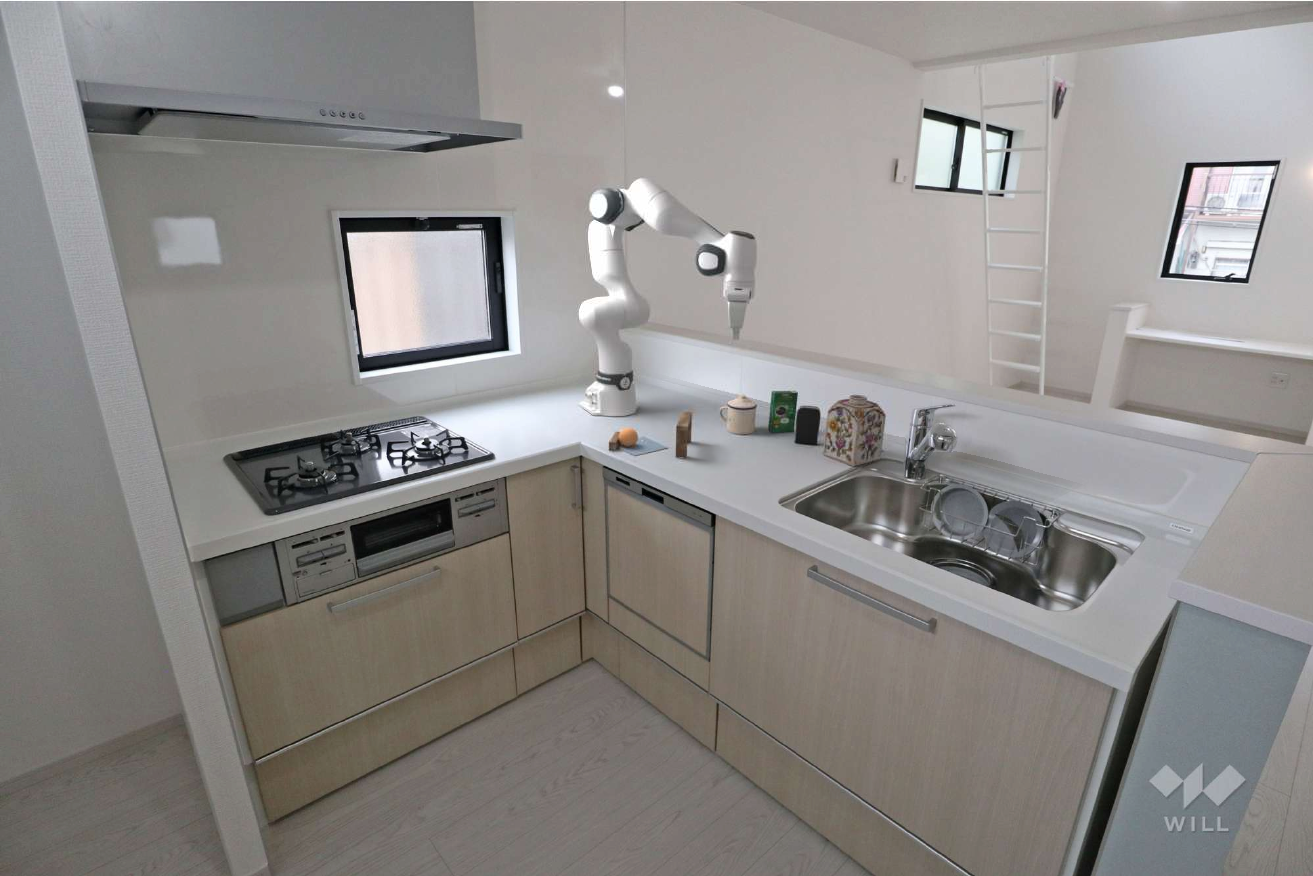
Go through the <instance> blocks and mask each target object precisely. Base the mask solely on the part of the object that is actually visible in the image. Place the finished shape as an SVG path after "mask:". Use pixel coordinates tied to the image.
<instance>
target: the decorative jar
mask: <svg viewBox="0 0 1313 876" xmlns="http://www.w3.org/2000/svg"><path fill="white" fill-rule="evenodd" d="M848 397H849V398H845V399H838V400H837V401H836V402H835V403H834V404H833V405H832V406H831V407H830V408H828V410H827V416H826V423H825V431H824V439H823V455H824V456H826V457H827V458H831V459H833V460H836V461H839V462H840V463H843V464H846V465H848V466H851V467H857V466H862V465H864V464H865V463H866V464H868V463H872V461H873V462H876V461H880V459H881V456H882V451H883V445H884V444H883V442H884V434H885V427H886V417H887V416H886V415H887V414H886V413H885V411H884V410H883V409H882V408H881V406H880V405H879V404H878V403H877V402H873V401H870V400H868V397H867V396H865V395H862V394H851V395H849V396H848Z"/></svg>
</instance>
